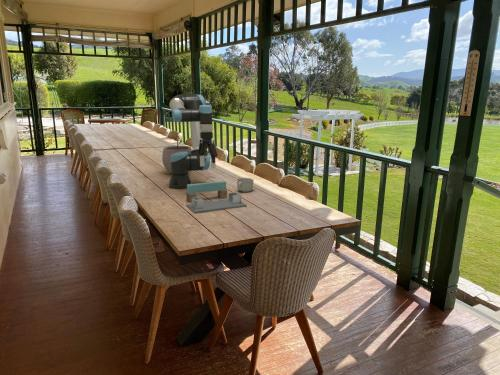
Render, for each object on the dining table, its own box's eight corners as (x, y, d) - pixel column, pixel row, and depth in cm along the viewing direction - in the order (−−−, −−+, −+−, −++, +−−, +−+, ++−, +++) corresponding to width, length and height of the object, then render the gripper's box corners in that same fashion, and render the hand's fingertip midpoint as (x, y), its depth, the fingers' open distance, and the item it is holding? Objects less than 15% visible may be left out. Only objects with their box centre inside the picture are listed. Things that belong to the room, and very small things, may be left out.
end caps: (191, 205, 220) (190, 197, 218) (236, 200, 231) (236, 192, 230) (195, 209, 213) (194, 200, 212) (241, 203, 225) (241, 194, 224)
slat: (187, 192, 232) (186, 184, 230) (224, 188, 242) (224, 180, 240) (188, 194, 229) (188, 185, 228) (226, 189, 239) (226, 181, 238)
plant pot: (199, 174, 302) (198, 136, 295) (170, 178, 289) (168, 138, 282) (185, 169, 321) (184, 132, 314) (158, 172, 308) (156, 134, 301)
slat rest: (186, 200, 234) (186, 192, 233) (223, 195, 244) (223, 187, 243) (189, 202, 229) (189, 194, 228) (227, 198, 239) (227, 190, 238)
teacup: (244, 188, 263) (244, 176, 261) (256, 190, 256) (257, 179, 254) (230, 192, 253) (230, 180, 251) (243, 195, 246) (243, 182, 244)
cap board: (186, 206, 223) (186, 204, 222) (236, 199, 236) (236, 198, 236) (194, 213, 210) (194, 211, 209) (246, 206, 223) (246, 204, 223)
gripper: (191, 131, 238) (192, 165, 242) (211, 132, 218) (212, 169, 221) (202, 131, 242) (203, 165, 246) (222, 131, 222) (223, 168, 226)
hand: (207, 167), depth 234 cm, fingers open, 13 cm apart
